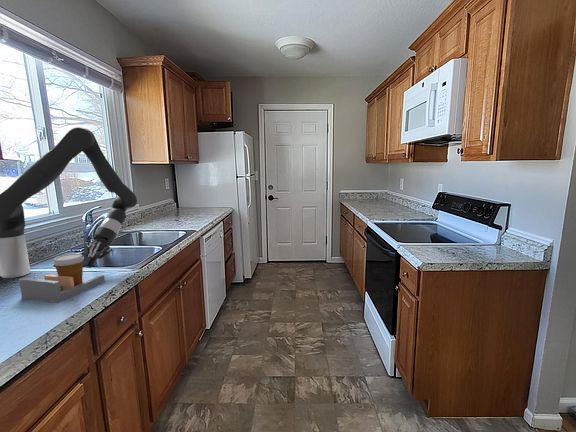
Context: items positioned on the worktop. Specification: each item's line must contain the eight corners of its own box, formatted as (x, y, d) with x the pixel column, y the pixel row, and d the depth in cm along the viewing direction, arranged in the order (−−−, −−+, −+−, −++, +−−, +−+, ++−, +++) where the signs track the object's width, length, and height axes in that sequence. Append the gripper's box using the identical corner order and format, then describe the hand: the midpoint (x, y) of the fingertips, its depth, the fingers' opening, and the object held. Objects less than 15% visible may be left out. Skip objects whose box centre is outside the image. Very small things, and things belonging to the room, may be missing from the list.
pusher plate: (40, 292, 109) (38, 277, 109) (49, 288, 113) (47, 274, 112) (66, 295, 107) (64, 280, 106) (75, 291, 110) (73, 276, 109)
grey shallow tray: (21, 298, 105) (18, 279, 104) (73, 278, 124) (70, 261, 123) (57, 302, 102) (54, 283, 100) (105, 281, 120) (103, 264, 119)
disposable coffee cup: (57, 294, 108) (53, 262, 106) (56, 286, 116) (51, 256, 114) (88, 287, 114) (85, 257, 112) (85, 280, 122) (82, 251, 120)
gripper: (90, 225, 129) (67, 261, 120) (115, 226, 126) (93, 263, 116) (101, 234, 135) (80, 269, 126) (126, 236, 132) (106, 272, 122)
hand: (87, 266), depth 121 cm, fingers closed
